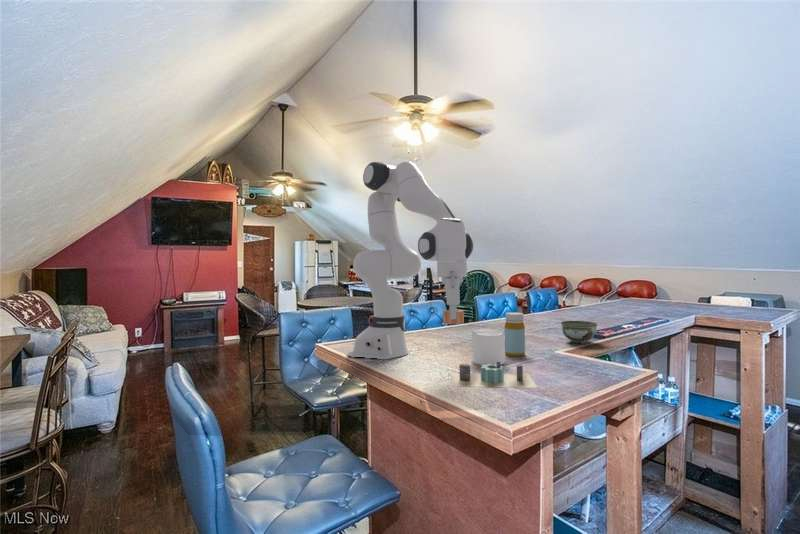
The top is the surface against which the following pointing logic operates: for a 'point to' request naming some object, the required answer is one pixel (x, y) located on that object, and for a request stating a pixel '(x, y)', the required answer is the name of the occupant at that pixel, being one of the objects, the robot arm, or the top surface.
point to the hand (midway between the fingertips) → (453, 317)
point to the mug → (488, 347)
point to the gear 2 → (492, 373)
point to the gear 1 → (458, 319)
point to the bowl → (579, 330)
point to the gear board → (474, 380)
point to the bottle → (514, 334)
